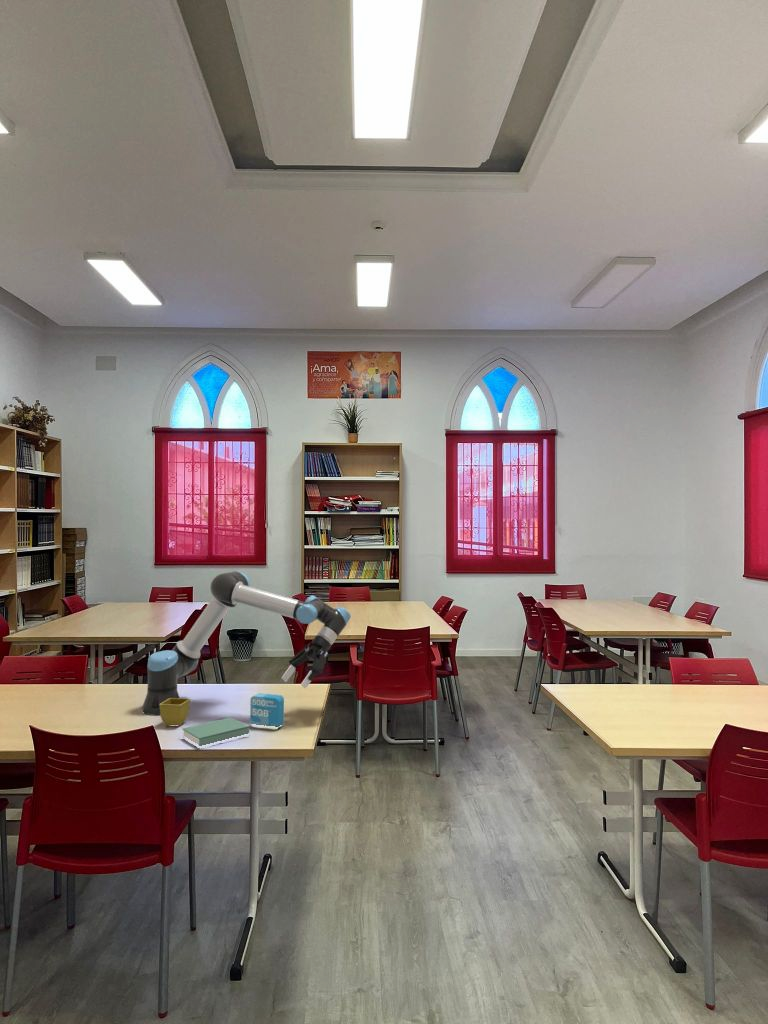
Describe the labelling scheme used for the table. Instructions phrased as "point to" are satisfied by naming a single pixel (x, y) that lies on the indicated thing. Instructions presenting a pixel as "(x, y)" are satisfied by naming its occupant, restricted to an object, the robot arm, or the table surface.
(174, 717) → the flower pot
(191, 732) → the green book
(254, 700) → the data package
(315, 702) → the table surface
